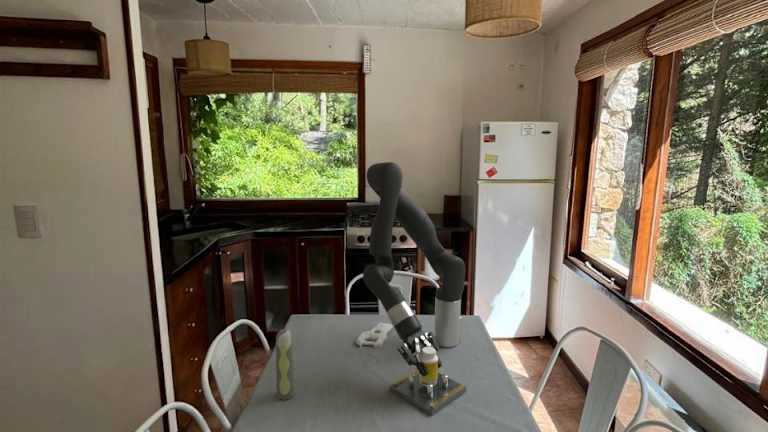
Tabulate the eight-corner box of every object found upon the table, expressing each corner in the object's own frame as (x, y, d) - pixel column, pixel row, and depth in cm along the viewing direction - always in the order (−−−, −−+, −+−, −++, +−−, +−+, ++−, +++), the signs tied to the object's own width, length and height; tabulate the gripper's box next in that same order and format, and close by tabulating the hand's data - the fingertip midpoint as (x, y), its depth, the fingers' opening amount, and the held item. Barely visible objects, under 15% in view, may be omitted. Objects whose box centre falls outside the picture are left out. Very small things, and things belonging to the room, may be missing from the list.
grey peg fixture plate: (424, 370, 133) (425, 355, 132) (466, 391, 122) (466, 376, 121) (389, 390, 122) (390, 374, 121) (431, 415, 111) (432, 398, 110)
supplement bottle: (440, 384, 120) (442, 352, 118) (424, 389, 118) (425, 356, 116) (430, 375, 125) (431, 343, 123) (414, 379, 123) (415, 347, 121)
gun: (370, 318, 165) (394, 321, 162) (370, 325, 165) (394, 329, 162) (354, 340, 148) (380, 344, 145) (354, 348, 148) (380, 353, 145)
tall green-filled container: (293, 399, 117) (291, 334, 113) (276, 401, 116) (273, 335, 113) (294, 389, 122) (292, 326, 118) (277, 391, 121) (275, 327, 117)
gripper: (393, 321, 118) (424, 376, 112) (425, 308, 128) (455, 357, 122) (380, 332, 123) (409, 385, 117) (412, 318, 133) (440, 367, 127)
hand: (432, 371), depth 119 cm, fingers closed on supplement bottle, 5 cm apart
